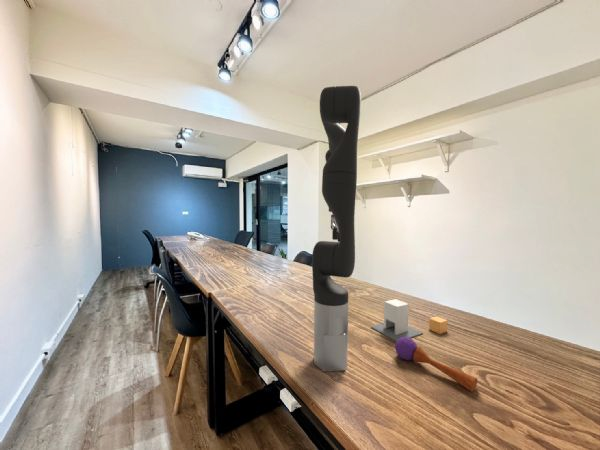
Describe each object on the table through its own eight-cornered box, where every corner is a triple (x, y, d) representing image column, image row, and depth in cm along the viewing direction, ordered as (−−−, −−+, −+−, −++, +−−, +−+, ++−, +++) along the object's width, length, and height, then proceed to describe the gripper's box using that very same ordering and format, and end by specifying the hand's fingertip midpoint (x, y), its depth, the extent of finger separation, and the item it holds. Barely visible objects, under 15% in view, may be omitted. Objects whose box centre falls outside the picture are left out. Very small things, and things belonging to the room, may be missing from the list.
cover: (408, 331, 89) (408, 304, 88) (396, 334, 86) (397, 306, 86) (395, 324, 94) (395, 299, 93) (383, 328, 91) (384, 301, 91)
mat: (422, 334, 88) (422, 332, 87) (398, 342, 82) (398, 341, 82) (394, 320, 98) (394, 319, 98) (370, 327, 92) (370, 326, 92)
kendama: (469, 381, 57) (390, 339, 73) (468, 403, 59) (391, 357, 74) (480, 367, 61) (402, 329, 76) (478, 388, 62) (402, 347, 78)
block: (447, 331, 90) (447, 320, 90) (440, 334, 88) (440, 322, 88) (436, 327, 93) (436, 316, 93) (429, 329, 91) (429, 318, 91)
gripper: (353, 199, 95) (352, 242, 96) (342, 200, 109) (342, 238, 110) (333, 198, 94) (332, 242, 95) (325, 200, 108) (324, 239, 109)
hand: (337, 240), depth 103 cm, fingers open, 8 cm apart
